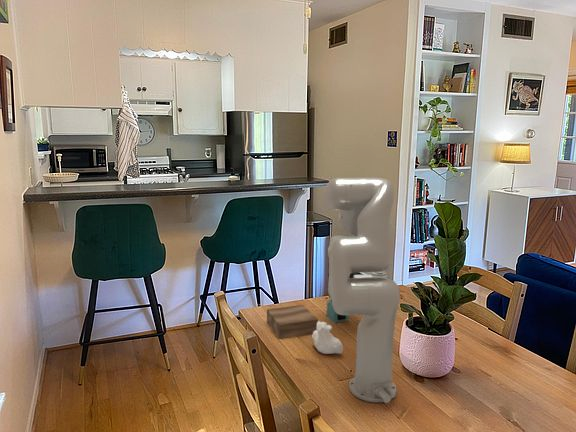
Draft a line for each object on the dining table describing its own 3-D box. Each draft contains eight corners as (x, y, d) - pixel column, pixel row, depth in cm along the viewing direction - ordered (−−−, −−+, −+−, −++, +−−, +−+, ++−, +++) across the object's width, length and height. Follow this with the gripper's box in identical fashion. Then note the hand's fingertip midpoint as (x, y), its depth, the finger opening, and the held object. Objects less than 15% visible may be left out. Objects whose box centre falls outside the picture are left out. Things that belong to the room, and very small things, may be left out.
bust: (311, 351, 150) (296, 332, 144) (324, 332, 153) (310, 313, 147) (339, 365, 142) (325, 345, 135) (352, 345, 145) (338, 324, 138)
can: (378, 304, 185) (379, 275, 183) (363, 299, 190) (365, 271, 188) (389, 299, 190) (391, 272, 187) (375, 294, 195) (376, 267, 193)
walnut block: (317, 332, 158) (317, 319, 158) (279, 338, 154) (279, 324, 153) (302, 317, 171) (302, 304, 170) (266, 322, 167) (266, 309, 166)
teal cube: (348, 320, 169) (348, 305, 168) (333, 322, 167) (334, 307, 166) (341, 314, 175) (341, 299, 174) (326, 316, 173) (327, 301, 171)
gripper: (359, 275, 161) (357, 323, 164) (337, 262, 176) (336, 306, 180) (340, 278, 158) (338, 326, 161) (320, 264, 174) (318, 308, 177)
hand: (337, 315), depth 171 cm, fingers closed on teal cube, 6 cm apart
